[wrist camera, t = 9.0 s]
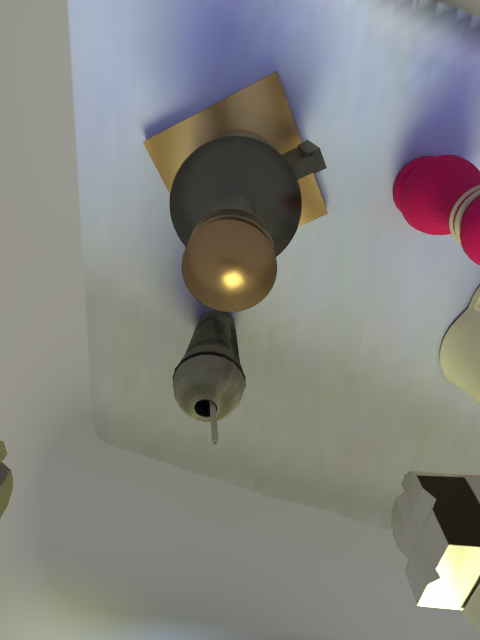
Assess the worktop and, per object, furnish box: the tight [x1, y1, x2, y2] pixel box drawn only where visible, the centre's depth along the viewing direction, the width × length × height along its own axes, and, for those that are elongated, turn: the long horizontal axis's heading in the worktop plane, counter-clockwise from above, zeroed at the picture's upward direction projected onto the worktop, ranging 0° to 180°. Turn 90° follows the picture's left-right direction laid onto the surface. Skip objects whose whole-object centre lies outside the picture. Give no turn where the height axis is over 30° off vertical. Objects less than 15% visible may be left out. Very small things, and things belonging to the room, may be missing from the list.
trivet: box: [143, 71, 328, 226], centre depth 42 cm, size 14×14×2 cm
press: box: [170, 130, 326, 257], centre depth 31 cm, size 12×10×22 cm
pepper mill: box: [393, 155, 480, 265], centre depth 34 cm, size 7×7×20 cm
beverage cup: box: [173, 311, 245, 446], centre depth 42 cm, size 7×7×20 cm
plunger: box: [182, 189, 277, 312], centre depth 24 cm, size 4×4×12 cm
